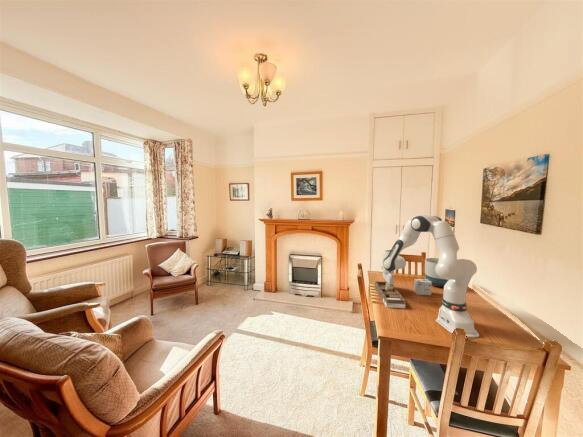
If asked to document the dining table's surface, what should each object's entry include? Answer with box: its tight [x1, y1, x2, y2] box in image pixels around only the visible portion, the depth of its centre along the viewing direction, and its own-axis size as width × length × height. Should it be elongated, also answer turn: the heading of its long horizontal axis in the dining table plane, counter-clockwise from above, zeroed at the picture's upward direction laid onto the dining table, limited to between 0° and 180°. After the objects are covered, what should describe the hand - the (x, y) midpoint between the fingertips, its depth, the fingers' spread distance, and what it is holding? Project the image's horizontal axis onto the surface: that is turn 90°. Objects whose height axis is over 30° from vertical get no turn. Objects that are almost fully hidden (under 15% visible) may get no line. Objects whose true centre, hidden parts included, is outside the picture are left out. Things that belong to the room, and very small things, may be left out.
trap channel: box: [374, 280, 406, 309], centre depth 178 cm, size 35×12×6 cm, turn 173°
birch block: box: [386, 284, 394, 291], centre depth 184 cm, size 5×4×4 cm
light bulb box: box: [413, 278, 433, 296], centre depth 184 cm, size 11×7×11 cm, turn 84°
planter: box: [424, 257, 448, 288], centre depth 200 cm, size 20×20×21 cm
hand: (387, 286), depth 189 cm, fingers closed
